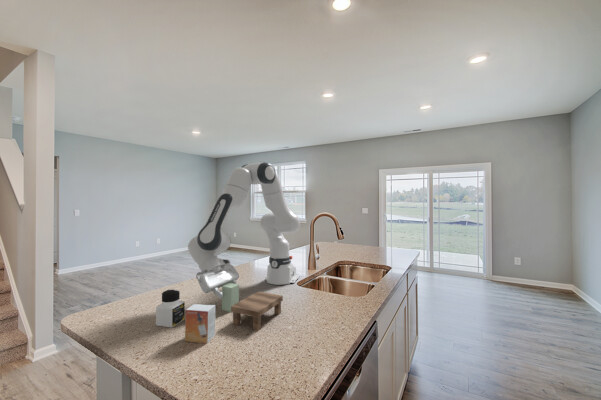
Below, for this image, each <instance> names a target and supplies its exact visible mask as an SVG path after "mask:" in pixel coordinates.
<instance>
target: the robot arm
mask: <svg viewBox="0 0 601 400" xmlns="http://www.w3.org/2000/svg"><path fill="white" fill-rule="evenodd" d="M251 185H260V187H261V191H262V192H261V193H262V195H263V201H264V204H265V207H266V208H267V210H270V211H271V212H270V213H267V214H263V215H262V216H261V218H260V226H261V228H262V230H263V231H264V232H265V233H266V235H267V238H268V242H269V258H268V261H269V262H268V263H269V264H268V265H267V268H266V269H267V271H266V276H265V279H264V280H265V281H266V283H267V284H270V285H274V286H280V285H281V286H282V285H291V284H290V283H294V284H295V283H296V282H297V281H298V280H299V279H300V277H301V275H300V274H298V273H297V269H296V266H295V265H294V264H292V261H291V260H293V256H292V255H290V243H289V241H288V240H287V239H286V238H285V237H284V234H293V233H294V234H295V233H297V232H298V231H299V230H300V227H301V220H300V218H299V217H298V215H296V214H294V212H293V211H292V210H291V208H289V206H288V204H287V203H286V202H287V201H286V199H285V196H284V191H283V187H282V184H281V181H280V178H279V176H278V173H276V169H275V167H274V166H273V165H272V164H271V163H269V162H265V161H264V162H253V163H246V164H244V165H243V164H242V166H241V167H239V166H238V167H235V168H234V169H233V170H232V171H231V173H230V175H229V177H228V179H227V181H226V184H225V186H224V188H223V191H222V193H221V195H220V196H219V197H218V200H217V201H216V203H215V205H214V207H213V209H212V211H211V212H210V213H211V214H210V215H209V217H208V219H207V221H206V223H205V225H203V227H202V228H201V229H200V230H199V232H198V233H197V235H196V236H194V237H193V238H192V239H190V241H189V242H188V244H187V249H188V252H189V254H190V256H191V258H192V259H193V261H194V262H195V263H196V264H197V266H198V268H199V270H200V271H199V272H197V273H196V275H195V279H196V280H197V281H198V285H199V286H200V289H201V290H202V292H203V293H205V294H208V293H210V292H211V293H213V294H214V295H216V296H217V297H218V298H219V299H222V297H223V296H224V294H223V292H222V291H220V290H219V289H220V288H222V286H224V285H226V284H229V283H233V284H238V283H237V280H238V279H239V278H240V274H239V271H238V270H237V269H236V268H235V267H234V265H232V264H231V261H230V260H229V259H226V258H225V259H224V258H223V259H222V258H219V257H218V256H220V255H221V254H222V253H224V252H225V251H227V250H228V249H229V248H230V246H231V241H232V240H231V237H230V235H229V234H228V233H226V232H224V231H223V230H222V226H223V224H224V222H225V220H226V217H227V215H228V213H229V212H230V211H231V210H232V209H234V208H238V207H241V206H242V205H243V204H244V202H245V200H246V199H247V197H248V193H249V190H250V187H251ZM299 276H300V277H299ZM297 279H298V280H297ZM296 280H297V281H296ZM295 281H296V282H295Z"/></svg>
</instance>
